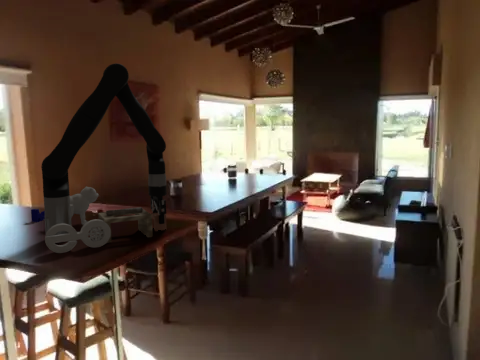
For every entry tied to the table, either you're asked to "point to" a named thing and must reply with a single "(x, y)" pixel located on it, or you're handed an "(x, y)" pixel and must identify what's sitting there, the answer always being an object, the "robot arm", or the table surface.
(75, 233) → the gray double disc plate
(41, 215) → the cable clip
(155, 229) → the tan block
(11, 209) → the table surface
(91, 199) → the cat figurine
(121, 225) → the table surface
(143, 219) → the shelf
